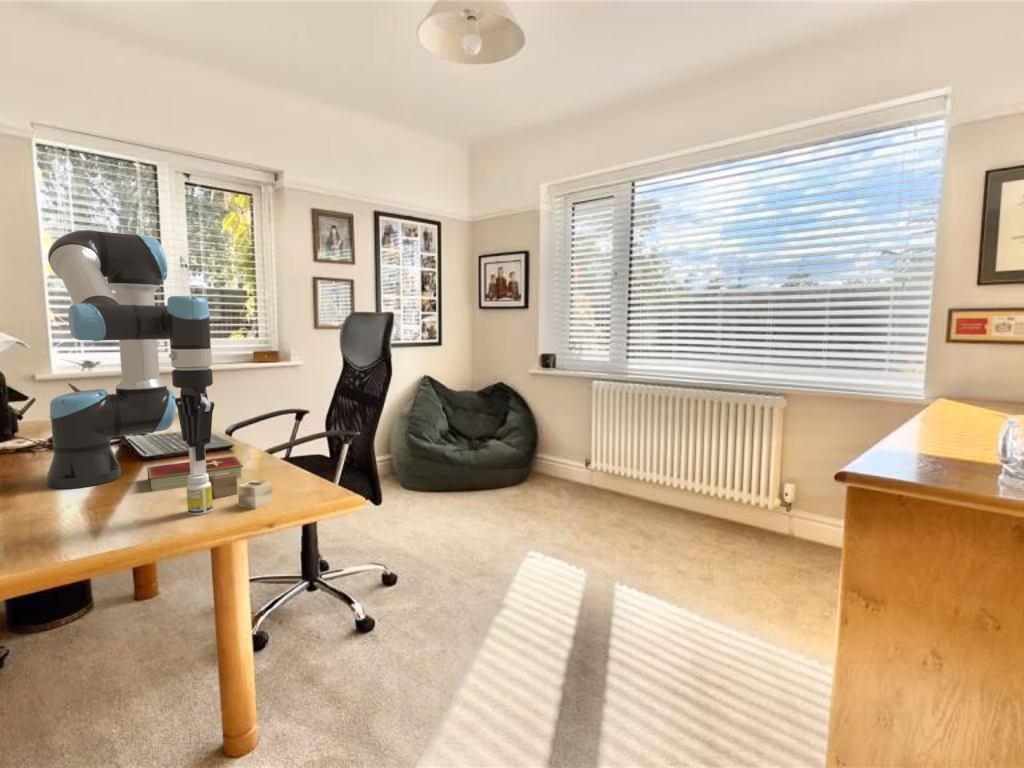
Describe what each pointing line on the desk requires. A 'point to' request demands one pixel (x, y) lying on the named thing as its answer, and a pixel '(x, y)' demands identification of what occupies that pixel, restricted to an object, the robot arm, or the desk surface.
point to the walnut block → (223, 484)
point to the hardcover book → (179, 472)
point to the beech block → (255, 494)
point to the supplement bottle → (199, 494)
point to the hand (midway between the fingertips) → (198, 474)
